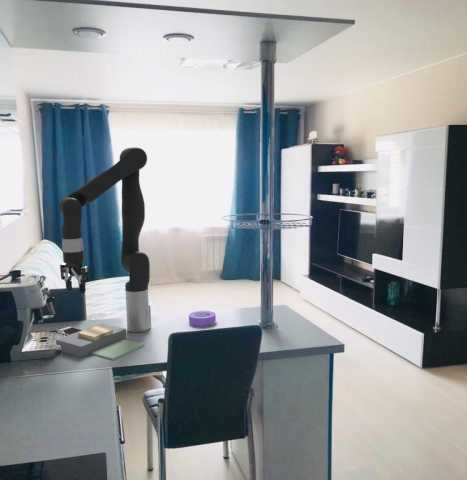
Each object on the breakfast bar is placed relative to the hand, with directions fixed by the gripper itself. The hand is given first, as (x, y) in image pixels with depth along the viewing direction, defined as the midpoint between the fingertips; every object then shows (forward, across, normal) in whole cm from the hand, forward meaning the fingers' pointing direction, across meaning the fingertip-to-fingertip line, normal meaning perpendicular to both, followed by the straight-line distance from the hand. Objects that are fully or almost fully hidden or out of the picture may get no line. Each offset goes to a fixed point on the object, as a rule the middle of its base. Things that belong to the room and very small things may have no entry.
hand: (75, 291), depth 182 cm
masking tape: (+20, -29, -43) cm, 56 cm away
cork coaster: (+16, -10, 0) cm, 19 cm away
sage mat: (+20, -21, -1) cm, 29 cm away
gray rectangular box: (+20, -8, 0) cm, 21 cm away
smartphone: (+20, +9, -5) cm, 23 cm away
